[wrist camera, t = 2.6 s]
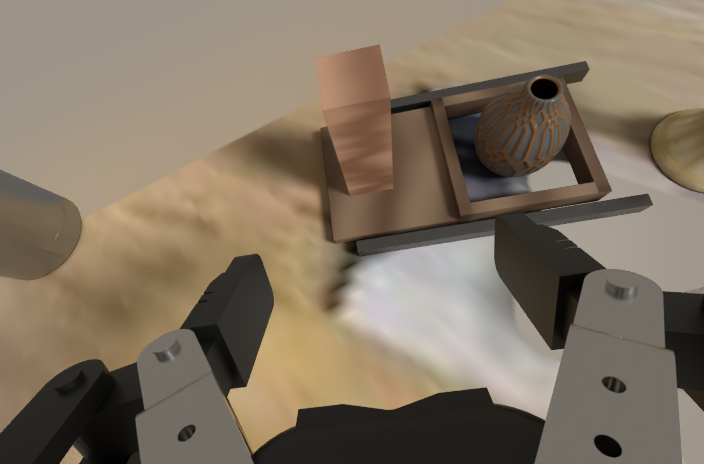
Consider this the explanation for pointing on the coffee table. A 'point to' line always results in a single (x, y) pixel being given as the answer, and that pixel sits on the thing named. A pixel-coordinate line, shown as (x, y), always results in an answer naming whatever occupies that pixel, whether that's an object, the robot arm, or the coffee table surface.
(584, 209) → the lane rails
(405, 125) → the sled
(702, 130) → the hand bell
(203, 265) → the coffee table surface
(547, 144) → the vase
